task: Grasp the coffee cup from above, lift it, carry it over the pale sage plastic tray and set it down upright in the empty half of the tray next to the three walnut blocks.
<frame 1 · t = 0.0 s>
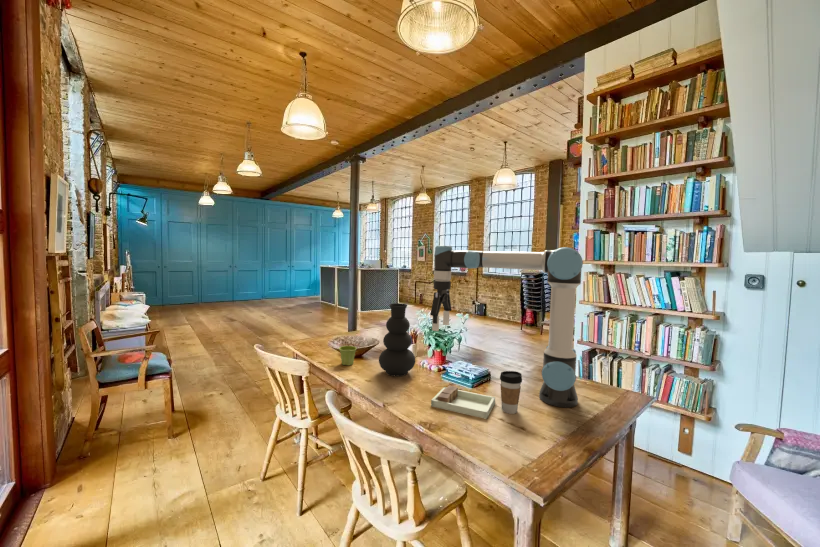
hand: (440, 327, 155), 28 cm above the table, fingers open, 13 cm apart
walnut block b: (447, 400, 143), point 1 cm above the table, touching tray
tray: (463, 407, 139), on the table
vase: (396, 373, 176), on the table
walnut block c: (443, 405, 138), point 1 cm above the table, touching tray
coffee cup: (509, 410, 138), on the table
plant pot: (347, 364, 189), on the table
walnut block a: (451, 397, 146), point 1 cm above the table, touching tray
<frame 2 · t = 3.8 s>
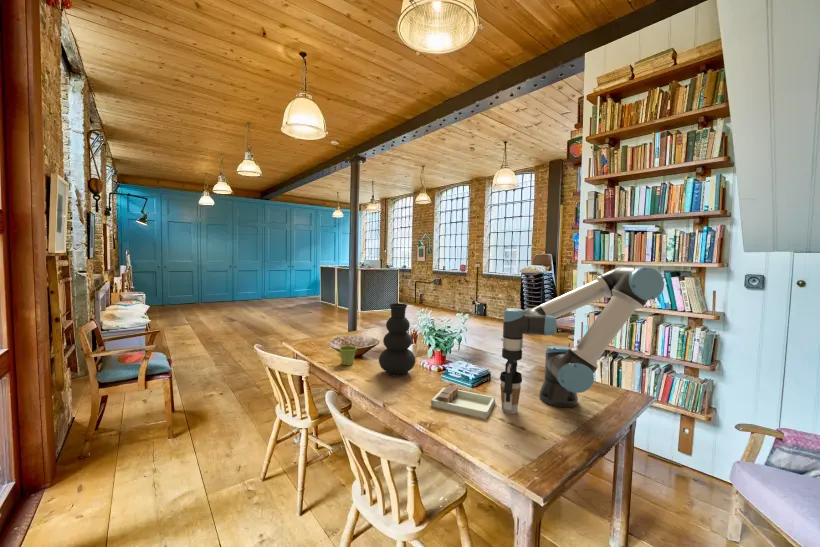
hand: (509, 404, 138), 2 cm above the table, fingers closed on coffee cup, 7 cm apart
coffee cup: (509, 410, 138), on the table, touching gripper
everything else where it was.
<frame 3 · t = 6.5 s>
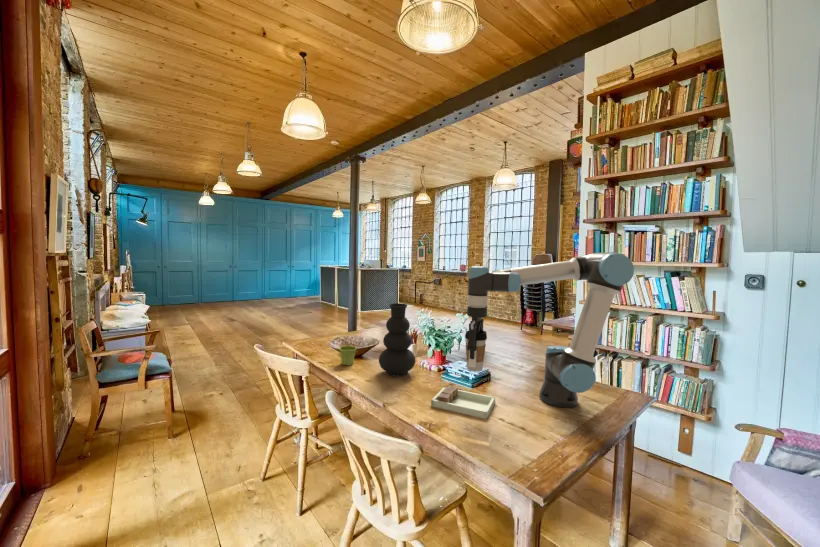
hand: (474, 363, 137), 18 cm above the table, fingers closed on coffee cup, 7 cm apart
coffee cup: (474, 369, 137), point 16 cm above the table, touching gripper
everything else where it was.
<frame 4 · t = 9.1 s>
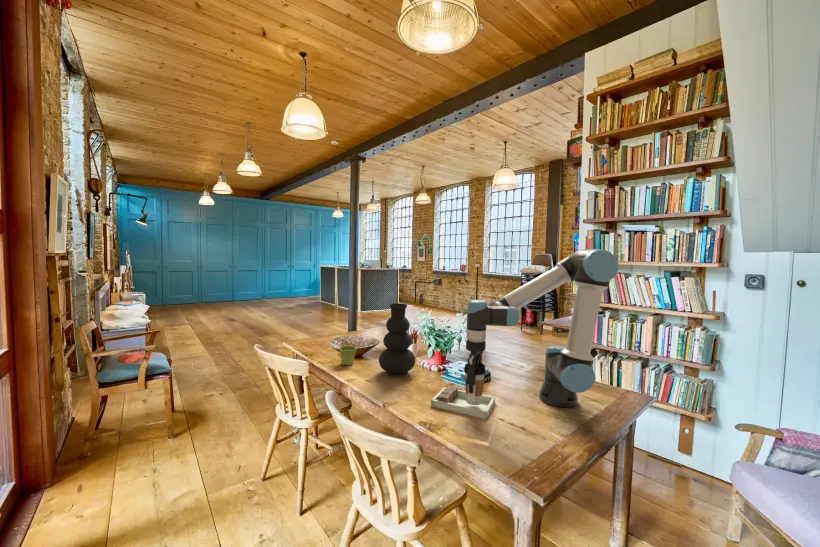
hand: (473, 396, 137), 5 cm above the table, fingers closed on coffee cup, 7 cm apart
coffee cup: (473, 402, 138), point 3 cm above the table, touching gripper
everything else where it was.
when the fingers open (5 cm above the table, at t = 9.2 s): coffee cup drops 2 cm, resting on tray.
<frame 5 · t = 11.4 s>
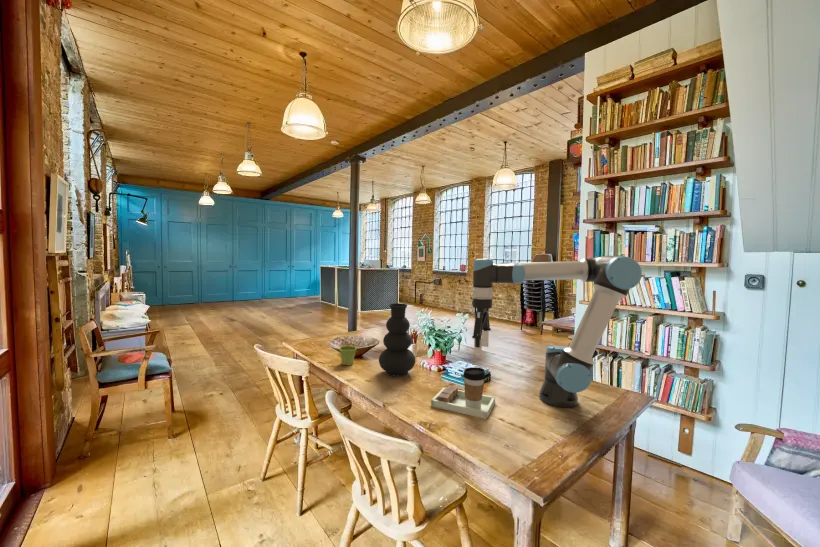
hand: (481, 350, 139), 23 cm above the table, fingers open, 13 cm apart
coffee cup: (473, 406, 138), point 1 cm above the table, touching tray
everything else where it was.
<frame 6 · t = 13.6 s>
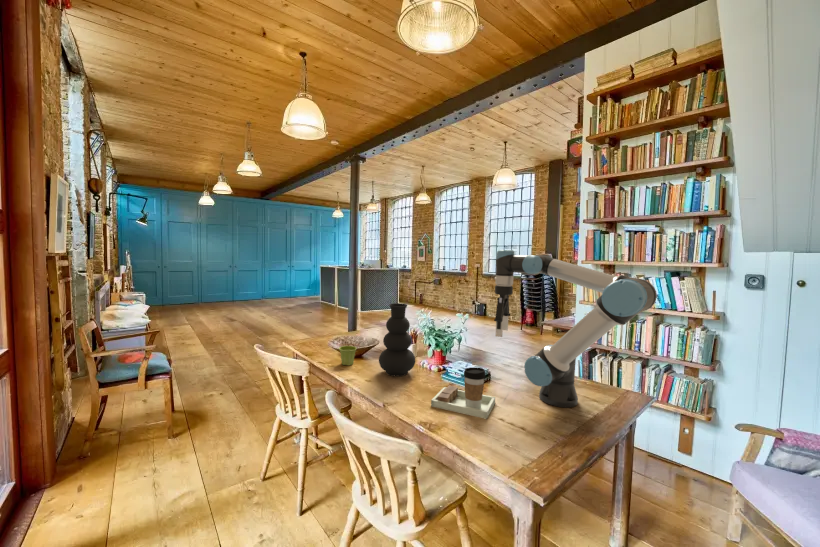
hand: (501, 333, 153), 27 cm above the table, fingers open, 13 cm apart
nothing on the table moved.
at the end: coffee cup inside the target area on the tray (0.1 cm from its centre), point 0.8 cm above the tray's base; coffee cup tilted 1°; the gripper is holding nothing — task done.
